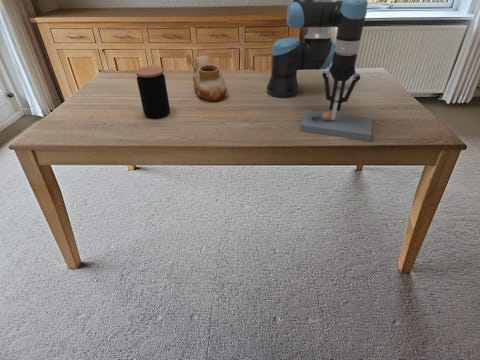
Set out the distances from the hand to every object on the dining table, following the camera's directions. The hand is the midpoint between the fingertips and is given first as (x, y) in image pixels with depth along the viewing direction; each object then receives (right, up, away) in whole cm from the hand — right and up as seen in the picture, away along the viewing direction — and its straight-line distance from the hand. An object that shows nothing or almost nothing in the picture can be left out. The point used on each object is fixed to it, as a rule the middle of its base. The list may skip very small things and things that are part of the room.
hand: (333, 118), depth 115 cm
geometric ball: (+14, +22, +36) cm, 44 cm away
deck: (+1, -3, +2) cm, 4 cm away
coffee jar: (-70, +4, +13) cm, 71 cm away
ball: (-2, +1, 0) cm, 3 cm away
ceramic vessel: (-50, +19, +32) cm, 62 cm away
